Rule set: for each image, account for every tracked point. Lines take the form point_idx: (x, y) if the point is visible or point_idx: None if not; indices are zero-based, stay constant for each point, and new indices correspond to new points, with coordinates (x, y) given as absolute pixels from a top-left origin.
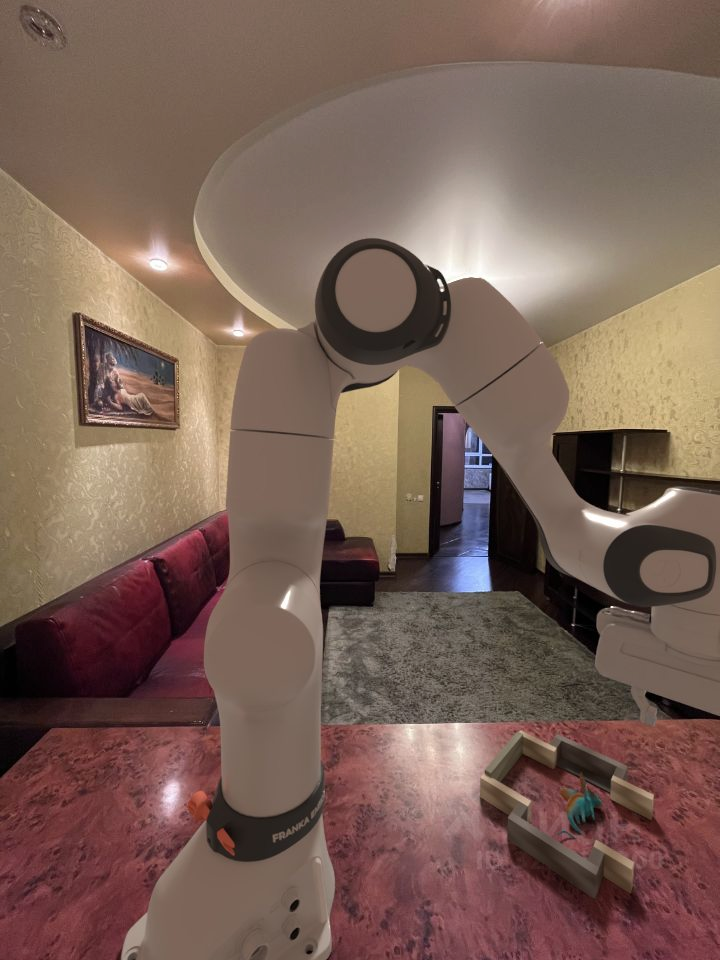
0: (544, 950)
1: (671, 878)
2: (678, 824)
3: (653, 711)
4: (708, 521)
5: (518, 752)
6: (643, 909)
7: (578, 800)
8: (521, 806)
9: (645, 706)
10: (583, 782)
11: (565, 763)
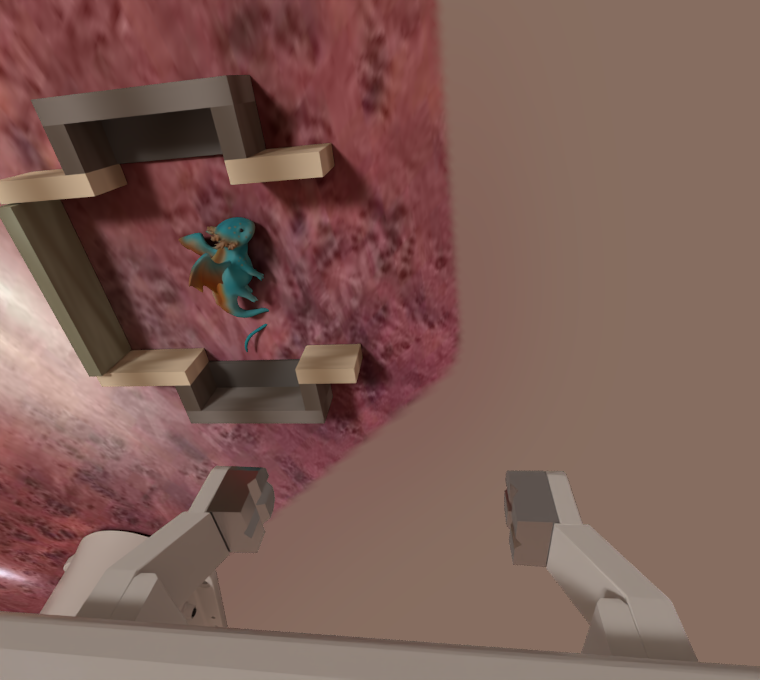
0: (322, 474)
1: (400, 286)
2: (380, 122)
3: (244, 541)
4: None
5: (56, 225)
6: (382, 366)
7: (224, 285)
8: (185, 391)
9: (213, 557)
10: (205, 267)
11: (125, 140)
